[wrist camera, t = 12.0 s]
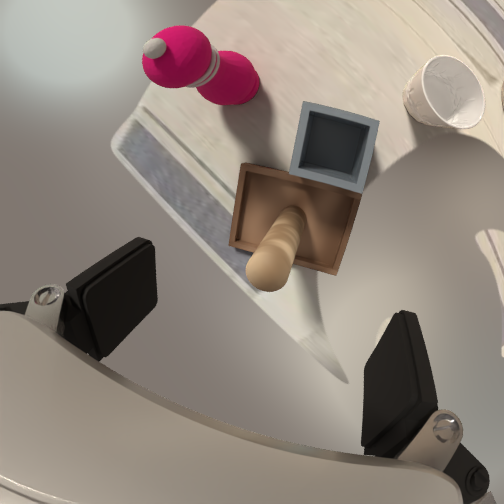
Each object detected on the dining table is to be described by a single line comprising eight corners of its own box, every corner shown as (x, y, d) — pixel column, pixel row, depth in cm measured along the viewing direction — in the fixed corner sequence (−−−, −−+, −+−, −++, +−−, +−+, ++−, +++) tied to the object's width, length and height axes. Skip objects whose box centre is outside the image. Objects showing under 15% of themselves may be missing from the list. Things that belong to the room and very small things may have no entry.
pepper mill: (226, 53, 30) (137, 2, 12) (272, 71, 30) (209, 12, 12) (204, 96, 33) (101, 79, 16) (248, 116, 33) (163, 102, 16)
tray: (360, 191, 33) (362, 194, 31) (336, 269, 38) (336, 275, 37) (245, 162, 36) (241, 163, 34) (232, 240, 41) (228, 245, 40)
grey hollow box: (367, 125, 29) (379, 121, 21) (354, 180, 33) (362, 193, 25) (309, 110, 31) (302, 101, 23) (298, 165, 34) (288, 173, 26)
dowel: (309, 209, 35) (292, 260, 21) (302, 233, 37) (282, 296, 23) (283, 202, 36) (249, 248, 22) (277, 226, 38) (242, 284, 24)
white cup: (394, 118, 28) (417, 111, 19) (401, 65, 24) (423, 43, 16) (445, 137, 26) (481, 140, 18) (452, 86, 23) (487, 74, 14)
